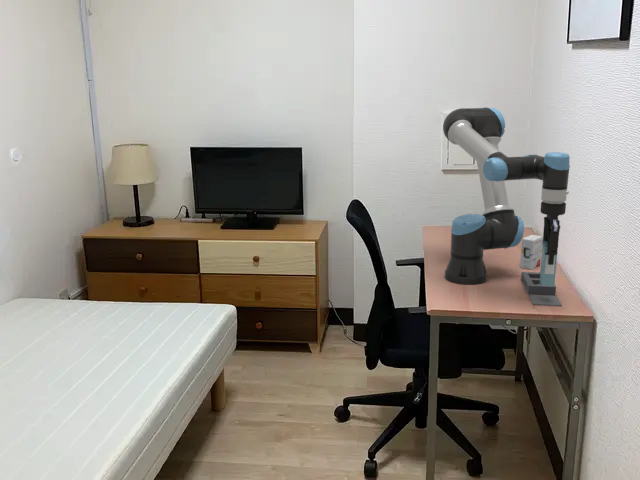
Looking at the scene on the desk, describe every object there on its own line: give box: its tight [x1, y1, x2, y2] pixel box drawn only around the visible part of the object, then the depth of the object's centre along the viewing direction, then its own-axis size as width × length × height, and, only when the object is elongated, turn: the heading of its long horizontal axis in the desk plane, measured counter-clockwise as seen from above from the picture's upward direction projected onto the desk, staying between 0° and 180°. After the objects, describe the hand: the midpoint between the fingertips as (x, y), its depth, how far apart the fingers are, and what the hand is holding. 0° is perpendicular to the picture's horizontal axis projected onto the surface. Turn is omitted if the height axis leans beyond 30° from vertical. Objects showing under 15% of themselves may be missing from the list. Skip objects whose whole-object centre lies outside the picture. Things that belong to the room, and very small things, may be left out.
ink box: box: [519, 234, 543, 270], centre depth 248 cm, size 9×5×12 cm, turn 137°
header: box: [520, 271, 557, 296], centre depth 225 cm, size 16×9×3 cm, turn 171°
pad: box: [528, 294, 563, 307], centre depth 211 cm, size 9×9×1 cm
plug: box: [539, 241, 558, 286], centre depth 208 cm, size 4×4×14 cm
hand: (547, 271), depth 209 cm, fingers closed on plug, 4 cm apart
